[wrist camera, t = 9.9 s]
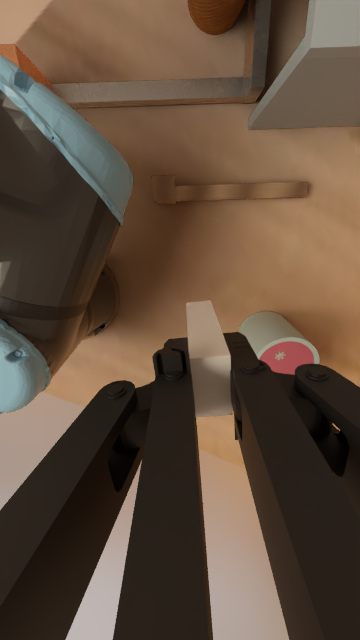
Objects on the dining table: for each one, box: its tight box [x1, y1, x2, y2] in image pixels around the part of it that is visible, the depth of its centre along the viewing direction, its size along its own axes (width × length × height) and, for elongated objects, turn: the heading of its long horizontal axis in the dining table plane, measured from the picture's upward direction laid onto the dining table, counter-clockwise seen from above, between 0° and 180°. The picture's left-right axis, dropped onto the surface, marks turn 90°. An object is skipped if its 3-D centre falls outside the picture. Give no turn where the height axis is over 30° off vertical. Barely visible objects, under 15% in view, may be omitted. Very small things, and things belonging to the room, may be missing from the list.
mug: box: [238, 311, 319, 375], centre depth 40 cm, size 14×9×10 cm
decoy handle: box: [151, 175, 308, 205], centre depth 31 cm, size 20×2×8 cm, turn 92°
